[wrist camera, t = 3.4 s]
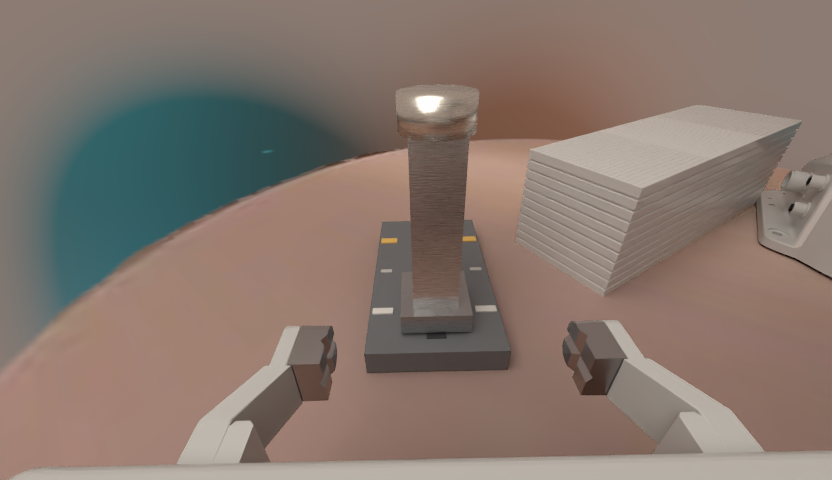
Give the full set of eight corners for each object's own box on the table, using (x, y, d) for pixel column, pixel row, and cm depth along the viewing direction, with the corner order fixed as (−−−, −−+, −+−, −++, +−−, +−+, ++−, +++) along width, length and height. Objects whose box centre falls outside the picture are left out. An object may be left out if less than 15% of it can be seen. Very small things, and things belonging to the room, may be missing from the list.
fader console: (383, 237, 40) (382, 220, 39) (470, 235, 40) (471, 218, 39) (367, 372, 25) (364, 353, 24) (507, 369, 25) (511, 349, 24)
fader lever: (402, 287, 29) (391, 84, 20) (462, 285, 29) (476, 82, 20) (401, 333, 25) (387, 102, 16) (471, 331, 25) (493, 100, 16)
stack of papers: (602, 298, 31) (642, 187, 25) (514, 243, 39) (530, 148, 33) (754, 205, 45) (802, 120, 39) (667, 179, 53) (697, 104, 47)
